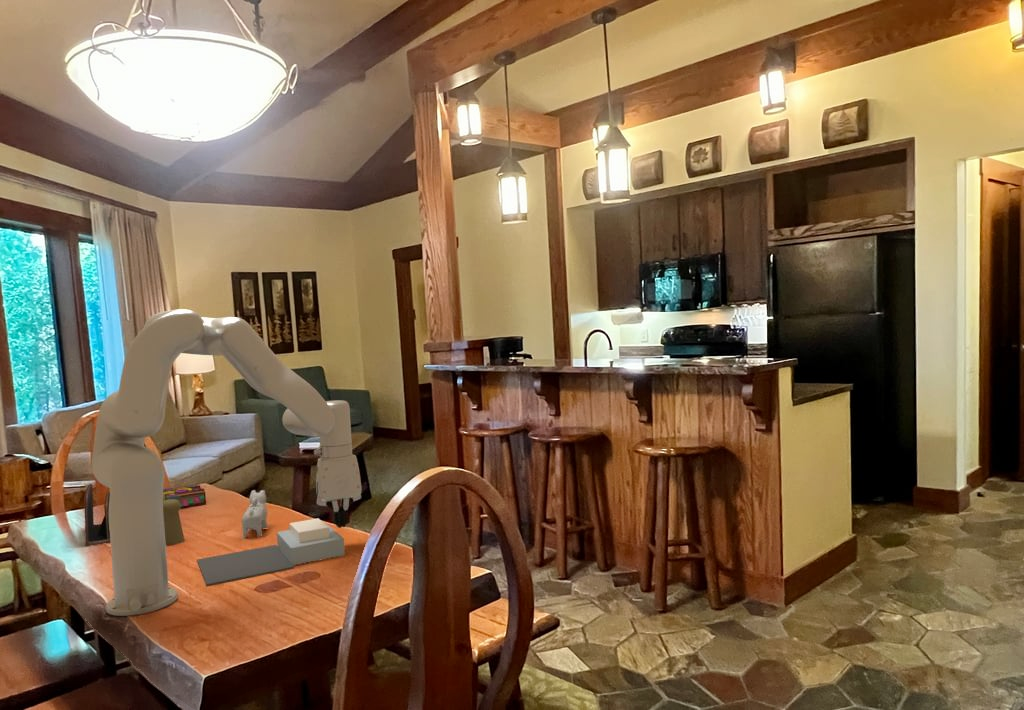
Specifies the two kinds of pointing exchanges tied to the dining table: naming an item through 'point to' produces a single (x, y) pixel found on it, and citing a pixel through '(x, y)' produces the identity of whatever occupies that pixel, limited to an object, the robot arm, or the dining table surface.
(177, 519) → the olive green upright block
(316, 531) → the cream rounded box
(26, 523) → the dining table surface
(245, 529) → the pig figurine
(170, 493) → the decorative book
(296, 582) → the dining table surface
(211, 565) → the mat
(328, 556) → the block
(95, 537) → the letter holder
